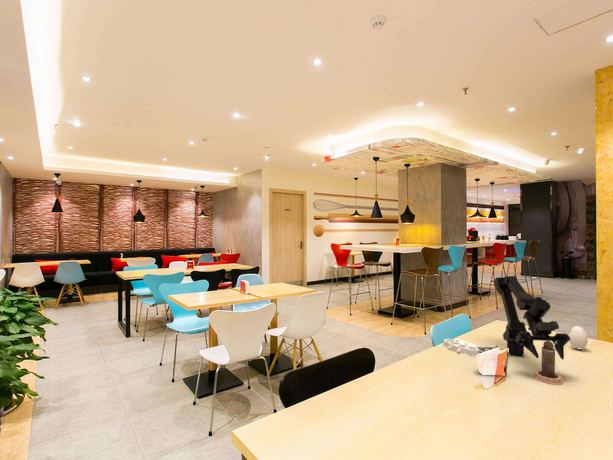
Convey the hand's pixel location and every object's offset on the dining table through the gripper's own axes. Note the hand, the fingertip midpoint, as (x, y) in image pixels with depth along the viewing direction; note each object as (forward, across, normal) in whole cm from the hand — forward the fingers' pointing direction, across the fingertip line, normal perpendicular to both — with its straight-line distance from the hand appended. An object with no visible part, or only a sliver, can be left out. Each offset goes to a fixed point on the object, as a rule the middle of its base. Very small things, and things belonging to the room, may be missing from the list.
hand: (550, 358), depth 134 cm
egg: (-22, +35, +35) cm, 54 cm away
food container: (+3, -20, +10) cm, 23 cm away
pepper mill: (+5, 0, +7) cm, 9 cm away
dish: (+5, 0, +7) cm, 9 cm away
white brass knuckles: (-16, -24, +29) cm, 41 cm away
